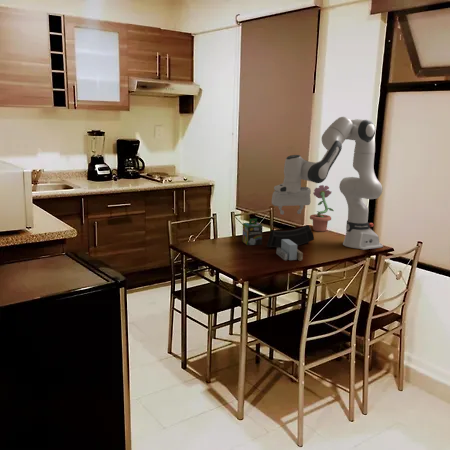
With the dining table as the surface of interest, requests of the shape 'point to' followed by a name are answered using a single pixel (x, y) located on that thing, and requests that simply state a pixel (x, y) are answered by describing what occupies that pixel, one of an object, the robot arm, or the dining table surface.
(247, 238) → the chalk box
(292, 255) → the book
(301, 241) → the magazine
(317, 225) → the decorative flower
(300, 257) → the shelf wall
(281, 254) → the gray flat block
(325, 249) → the dining table surface
